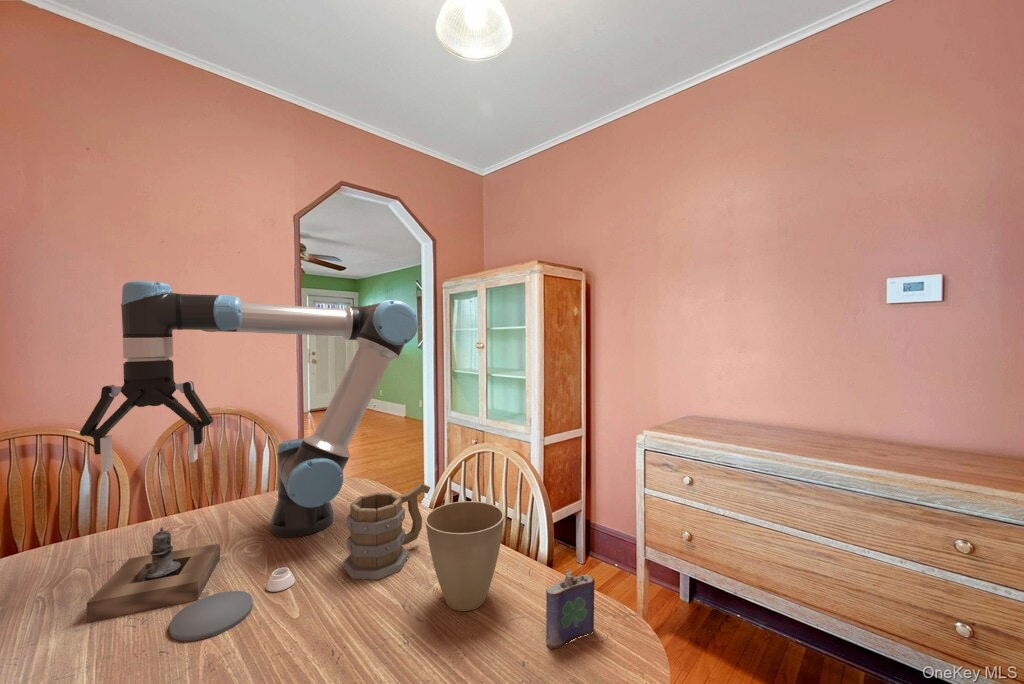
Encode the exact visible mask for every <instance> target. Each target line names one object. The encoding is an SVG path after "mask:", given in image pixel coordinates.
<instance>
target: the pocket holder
mask: <svg viewBox="0 0 1024 684" xmlns="http://www.w3.org/2000/svg"><path fill="white" fill-rule="evenodd" d="M171 558H172V561H177V562H179V563H180V564H181V566H180V567H179V570H178V572H177V575H176V576H170V577H165V578H159V579H154V580H148V581H145V578H144V577H143V576H142V574H143V572H144V571H146V570H147V569H149V568H150V567H151V565H152V555H151V554H148V555H143V556H136V557H135V556H134V557H129V558H128V559H127V560H126V561H125V562H124V563H123V564H122V566H120V568H119V569H118V570H116V572H115V573H114V574H113V575H112V576H110V578H109V579H108V580H107V581H106V582H105V583H104V584H103V585H102V587H101V588H100V589H99V590H97V591H96V593H95V594H94V595H93V596H92V597H90V599H88V600H87V602H86V623H91V622H96V621H97V622H98V621H102V620H107V619H111V618H117V617H121V615H122V616H126V615H130V613H131V614H135V613H140V612H145V611H149V610H155V609H159V608H163V607H164V608H165V607H169V606H175V605H179V604H183V603H189V602H195V601H197V600H200V598H201V595H202V594H203V591H204V590H205V587H206V586H207V584H208V582H209V580H210V579H209V578H211V577H212V575H213V573H214V571H215V569H216V567H217V566H216V565H218V564H217V563H219V562H220V560H221V543H215V544H209V545H204V546H202V545H201V546H197V547H192V548H191V547H190V548H185V549H179V550H173V551H172V550H171ZM212 572H213V573H212ZM211 574H212V575H211ZM210 576H211V577H210ZM125 614H126V615H125Z"/></svg>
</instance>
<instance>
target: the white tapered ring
mask: <svg viewBox="0 0 1024 684" xmlns="http://www.w3.org/2000/svg"><path fill="white" fill-rule="evenodd" d="M295 581H296V578H295V576H294V574H293V573H292V571H290V568H289V567H280V568H277V569H275V570H274V571H273V572H272V573H271V575H270V577H269V578H268V581H267V582H266V585H265V589H266V590H267V591H268V592H275V593H276V592H281V591H285V590H287V589H289V588H291V586H293V585H294V583H295Z"/></svg>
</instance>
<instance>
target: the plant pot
mask: <svg viewBox="0 0 1024 684" xmlns="http://www.w3.org/2000/svg"><path fill="white" fill-rule="evenodd" d="M424 520H425V521H424V522H425V528H426V535H427V541H428V546H429V551H430V556H431V560H432V564H433V568H434V571H435V574H436V577H437V581H438V584H439V586H440V587H439V588H440V590H441V592H442V595H443V597H444V600H445V602H446V604H447V606H448V607H450V609H452V610H455V611H458V612H469V611H474V610H476V609H478V608H480V607H481V606H482V605H483V604H484V603H485V600H486V598H487V595H488V592H489V590H490V587H491V584H492V581H493V578H494V574H495V569H496V567H497V562H498V558H499V554H500V550H501V549H500V547H501V543H502V542H501V541H502V536H503V528H504V521H505V512H504V511H503V509H502V508H500V507H499V506H498V505H495V504H492V503H488V502H484V501H474V500H473V501H472V500H471V501H469V500H467V501H456V502H450V503H446V504H442V505H440V506H438V507H435V508H434V509H432V510H431V511H429V512H428V514H426V516H425V518H424ZM479 606H480V607H479Z"/></svg>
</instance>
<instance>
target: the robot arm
mask: <svg viewBox="0 0 1024 684" xmlns="http://www.w3.org/2000/svg"><path fill="white" fill-rule="evenodd" d="M120 306H121V327H122V358H123V359H126V360H127V361H124V363H123V364H122V367H123V369H122V370H123V384H122V386H121V385H120V386H115V385H114V384H110V385H109V384H108V385H105V386H103V387H101V392H100V398H99V400H98V402H97V403H96V404H95V407H94V408H93V409H92V411H91V413H90V414H89V416H88V418H87V420H86V421H85V423H84V424H83V426H82V427H81V429H80V430H79V431H80V432H79V435H80V436H82V437H91V438H92V439H93V452H94V454H95V455H100V472H101V473H107V472H109V471H111V470H112V469H114V461H113V458H114V454H113V452H114V451H113V435H112V434H111V435H110V434H109V435H108V433H109V432H110V431H111V430H112V429H113V428H114V427H115V426H116V425H117V424H118V423H119V422H120V421H121V420H122V419H123V418H124V417H125V416H126V415H127V414H128V413H129V412H130V411H131V410H132V409H134V407H137V408H145V407H147V406H149V407H159V406H161V405H163V406H165V407H167V408H168V409H170V410H171V411H172V412H173V413H175V415H177V416H178V417H179V418H181V419H182V420H183V421H184V422H185V423H186V424H188V426H190V427H191V429H189V430H188V459H189V461H188V462H189V463H194V462H195V461H197V460H198V456H199V455H198V445H201V444H202V443H203V441H204V430H203V429H204V427H208V426H209V425H211V424H212V423H213V422H214V418H213V417H212V415H211V414H210V412H209V411H208V409H207V407H206V406H205V405H204V403H203V402H202V400H201V399H200V397H199V395H198V394H197V392H196V391H195V386H194V382H193V381H192V380H189V381H186V382H181V383H176V381H175V378H174V377H175V376H174V375H175V373H174V372H175V371H174V370H175V369H174V361H173V359H170V358H172V357H174V338H173V331H174V330H177V331H182V330H186V331H187V330H188V331H189V330H191V331H192V330H193V331H203V332H208V333H211V332H212V333H215V332H223V333H224V332H225V333H256V334H257V333H258V334H278V335H279V334H282V335H283V334H284V335H285V334H286V335H310V336H333V337H334V336H335V337H340V336H341V337H343V338H344V339H345V340H346V341H347V340H349V341H357V344H358V348H357V350H356V351H355V352H356V353H355V354H354V356H353V358H352V360H351V362H350V364H349V366H348V367H347V369H346V371H345V373H344V375H343V377H342V379H341V381H340V383H339V385H338V387H337V388H336V391H335V393H334V395H333V397H332V398H331V401H330V402H329V404H328V406H327V407H326V410H325V412H324V414H323V416H322V417H321V420H320V421H319V423H318V425H317V427H316V429H315V431H314V433H313V434H311V435H310V436H306V437H303V438H297V439H296V438H295V439H289V440H284V441H282V442H280V443H279V445H278V446H277V447H278V448H277V452H276V456H277V494H278V495H277V502H276V504H275V508H274V510H273V513H272V516H271V520H270V533H271V534H272V535H273V534H274V535H273V536H276V537H278V538H279V537H280V538H298V537H304V536H308V535H311V533H312V534H314V532H315V533H317V531H318V532H321V531H322V530H325V529H326V528H328V527H329V526H331V524H333V522H334V520H335V519H334V517H335V516H334V512H335V511H334V508H333V506H332V503H331V501H332V500H333V499H335V498H336V497H337V496H338V494H339V493H340V491H341V489H342V487H343V483H344V477H345V476H344V469H345V467H346V465H347V463H348V460H349V459H350V457H351V455H350V451H349V444H350V443H351V440H353V439H352V438H353V436H354V435H355V433H356V431H357V429H358V426H359V424H360V423H361V420H362V419H363V416H364V414H365V413H366V410H367V409H368V407H369V404H370V402H371V400H372V398H373V396H374V394H375V392H376V391H377V388H378V386H379V384H380V382H381V381H382V378H383V377H384V374H385V372H386V370H387V368H388V366H389V364H390V362H391V361H392V360H396V359H398V358H399V356H400V355H401V353H402V350H403V348H404V346H405V345H406V344H408V343H409V342H411V341H412V340H413V339H414V337H415V336H416V335H417V333H418V329H419V320H418V317H417V315H416V312H415V311H414V309H413V308H412V307H411V306H410V305H409V304H408V303H405V302H404V301H401V300H395V299H394V300H393V299H387V300H384V301H382V302H379V303H375V304H374V303H373V304H370V305H363V306H361V305H360V306H352V305H347V306H346V307H345V308H329V307H318V306H317V307H315V306H302V305H301V306H300V305H288V304H274V303H273V304H272V303H259V302H258V303H257V302H247V301H241V299H240V297H238V296H235V295H226V294H196V293H195V294H194V293H193V294H191V293H187V294H186V293H177V292H173V290H172V286H171V285H170V284H168V283H166V282H161V281H160V282H158V281H157V282H156V281H148V280H147V281H145V280H144V281H143V280H134V281H133V280H131V281H127V282H125V283H124V284H123V285H122V291H121V304H120ZM176 390H179V392H180V393H181V394H184V396H185V398H186V399H187V401H188V402H189V404H190V406H191V407H192V409H193V410H194V411H195V413H196V414H197V417H196V415H195V414H193V413H192V412H191V411H190V410H189V409H188V408H187V407H185V406H184V405H183V404H181V402H179V400H178V399H177V398H176V397H175V396H174V395H173V394H174V393H175V392H176ZM120 393H121V394H122V395H123V396H124V397H125V398H126V400H125V401H123V403H122V404H121V405H120V406H119V407H118V408H117V410H115V411H114V412H113V413H112V414H111V415H110V416H109V417H108V418H107V419H106V420H105V421H104V422H103V423H102V424H101V425H100V426H99V424H100V423H101V421H102V419H103V418H104V416H105V415H106V413H107V411H108V409H109V408H110V406H111V405H112V402H113V401H114V399H115V397H118V396H119V395H120ZM198 417H199V418H198ZM98 426H99V427H98ZM333 519H334V520H333ZM332 521H333V522H332ZM328 525H329V526H328ZM327 526H328V527H327ZM325 527H326V528H325ZM307 534H308V535H307ZM303 535H304V536H303Z"/></svg>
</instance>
